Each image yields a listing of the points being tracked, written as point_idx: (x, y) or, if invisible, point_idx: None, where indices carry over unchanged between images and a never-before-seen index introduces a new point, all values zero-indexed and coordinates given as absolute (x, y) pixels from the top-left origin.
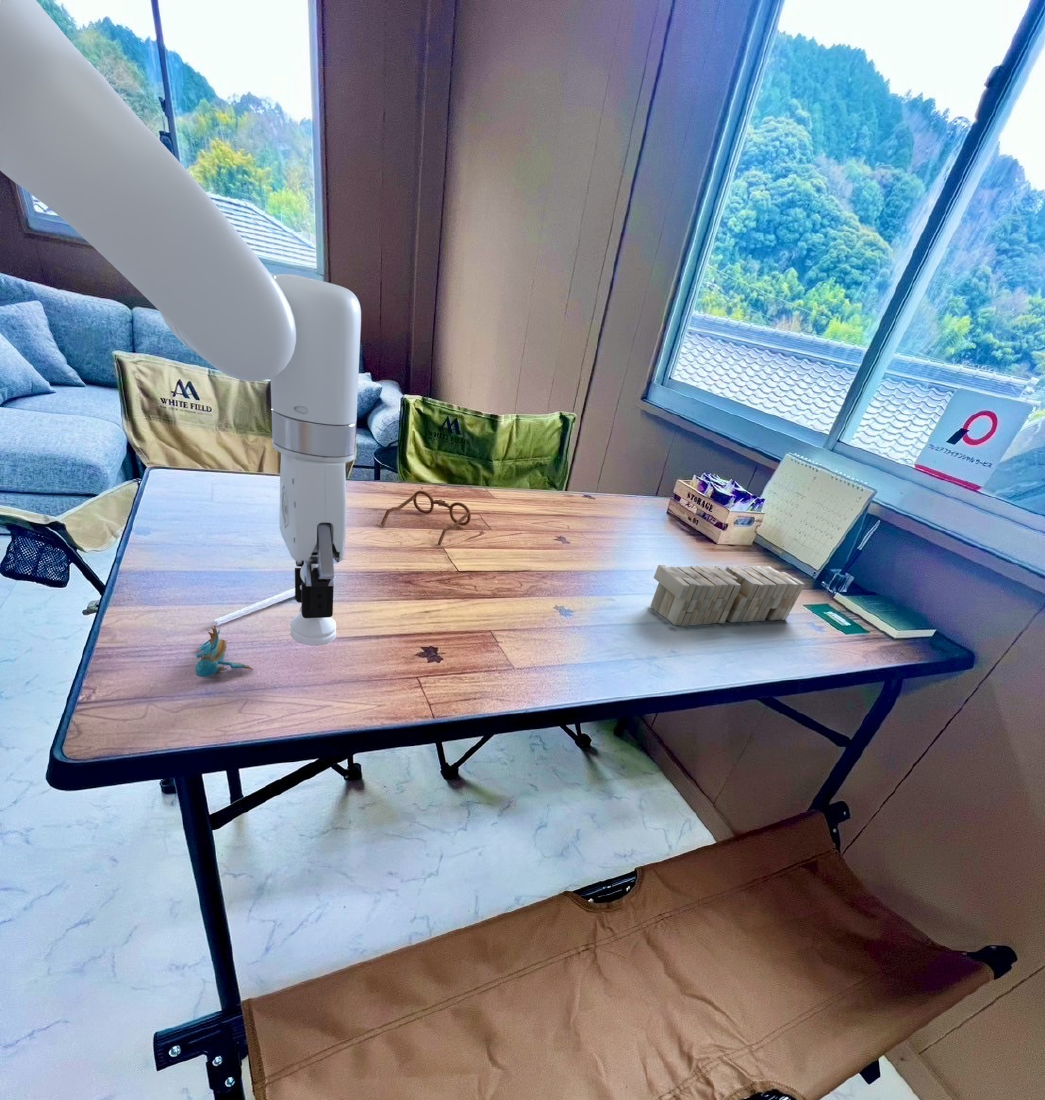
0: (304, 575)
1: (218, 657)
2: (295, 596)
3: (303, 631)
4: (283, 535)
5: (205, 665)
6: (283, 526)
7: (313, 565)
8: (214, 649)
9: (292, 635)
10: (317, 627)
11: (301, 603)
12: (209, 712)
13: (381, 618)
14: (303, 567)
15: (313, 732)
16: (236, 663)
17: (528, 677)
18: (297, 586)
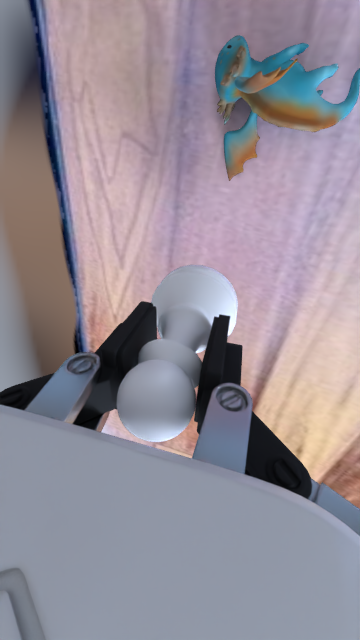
0: (88, 374)
1: (246, 100)
2: (224, 319)
3: (159, 287)
4: (152, 487)
5: (220, 61)
6: (109, 575)
7: (127, 421)
8: (274, 91)
9: (186, 266)
10: (157, 314)
11: (140, 316)
12: (130, 73)
13: (311, 405)
14: (144, 394)
15: (73, 229)
16: (234, 145)
17: (139, 442)
18: (209, 339)
